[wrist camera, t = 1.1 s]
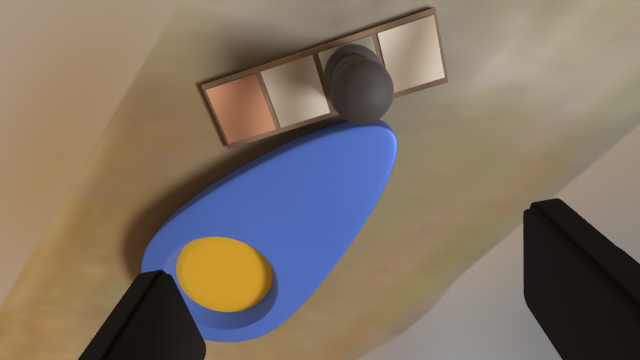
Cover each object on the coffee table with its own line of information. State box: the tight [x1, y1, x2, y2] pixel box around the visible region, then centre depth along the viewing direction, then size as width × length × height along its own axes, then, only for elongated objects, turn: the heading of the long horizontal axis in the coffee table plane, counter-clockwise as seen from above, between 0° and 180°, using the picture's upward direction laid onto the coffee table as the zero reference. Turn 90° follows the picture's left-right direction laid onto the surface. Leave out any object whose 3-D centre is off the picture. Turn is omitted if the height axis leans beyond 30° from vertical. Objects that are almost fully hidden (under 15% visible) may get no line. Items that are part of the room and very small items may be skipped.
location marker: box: [141, 119, 397, 342], centre depth 31 cm, size 13×3×25 cm
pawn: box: [324, 44, 394, 124], centre depth 22 cm, size 4×4×8 cm
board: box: [201, 7, 448, 149], centre depth 27 cm, size 17×5×1 cm, turn 107°
